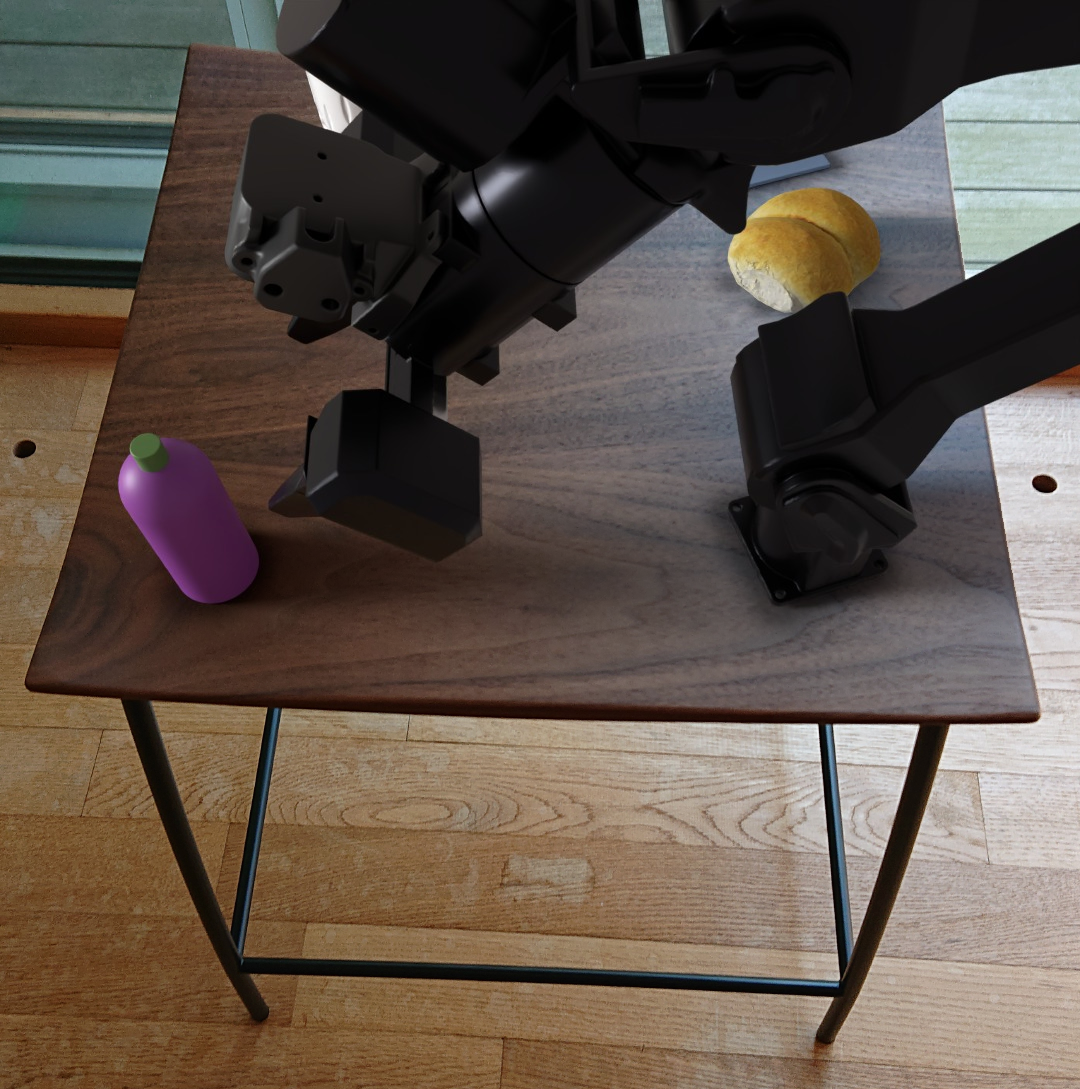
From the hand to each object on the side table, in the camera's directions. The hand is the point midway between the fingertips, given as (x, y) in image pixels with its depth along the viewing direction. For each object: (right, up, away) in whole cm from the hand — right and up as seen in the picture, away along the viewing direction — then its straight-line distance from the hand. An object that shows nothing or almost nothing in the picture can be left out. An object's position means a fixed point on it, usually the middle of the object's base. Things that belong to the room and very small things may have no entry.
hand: (287, 419), depth 47 cm
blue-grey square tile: (+26, +21, +26) cm, 42 cm away
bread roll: (+27, +12, +21) cm, 36 cm away
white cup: (+1, +20, +26) cm, 33 cm away
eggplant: (-6, -7, +11) cm, 14 cm away
